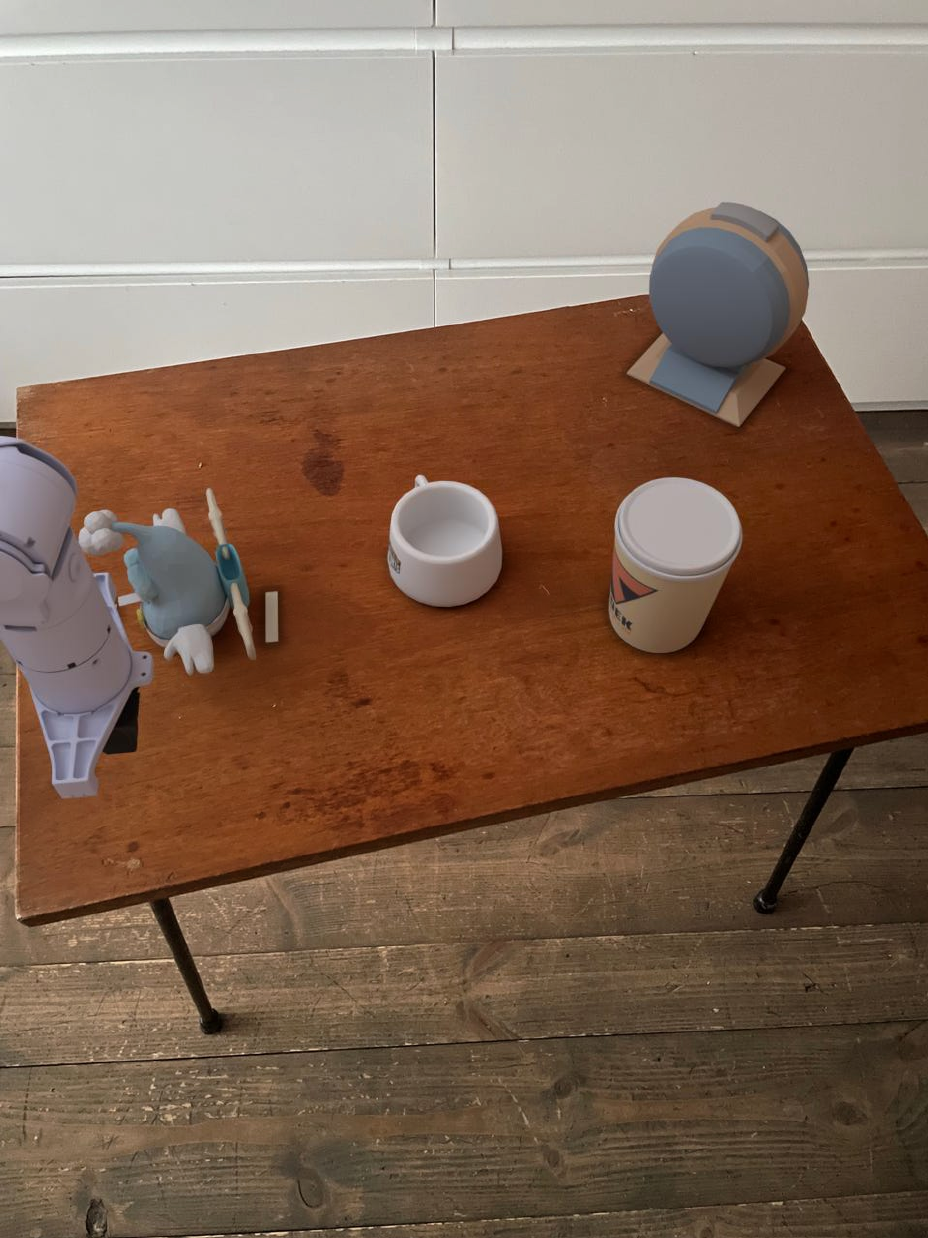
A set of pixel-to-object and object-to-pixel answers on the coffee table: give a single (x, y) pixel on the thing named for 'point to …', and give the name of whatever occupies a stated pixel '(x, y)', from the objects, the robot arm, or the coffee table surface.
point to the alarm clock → (723, 309)
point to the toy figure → (177, 582)
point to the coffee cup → (670, 561)
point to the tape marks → (271, 617)
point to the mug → (444, 543)
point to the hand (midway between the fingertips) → (121, 744)
